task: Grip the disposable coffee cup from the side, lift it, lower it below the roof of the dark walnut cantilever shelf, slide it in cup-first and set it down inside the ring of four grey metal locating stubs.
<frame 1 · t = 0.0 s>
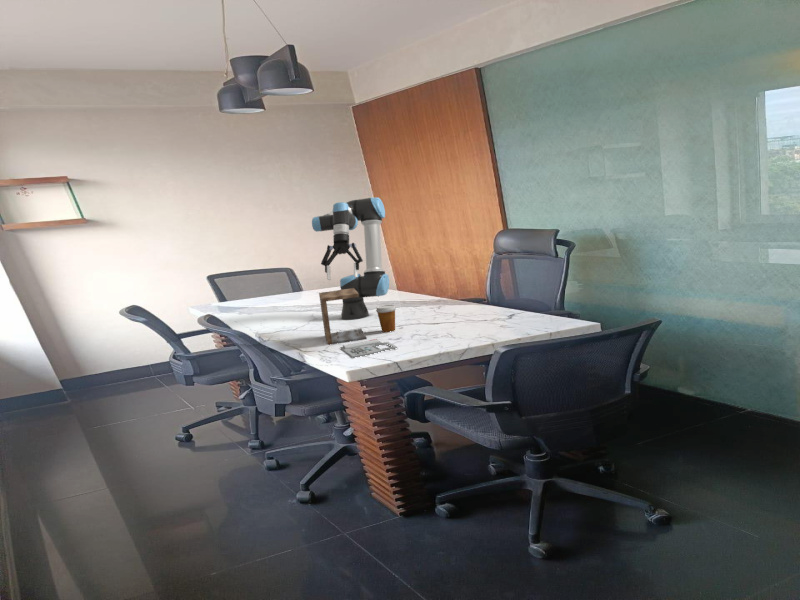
hand: (342, 278, 321), 28 cm above the table, tool tilted 20°, fingers open, 13 cm apart
walnut overhang shelf: (347, 337, 321), on the table
disposable coffee cup: (388, 331, 324), on the table
office telephone: (368, 350, 291), on the table
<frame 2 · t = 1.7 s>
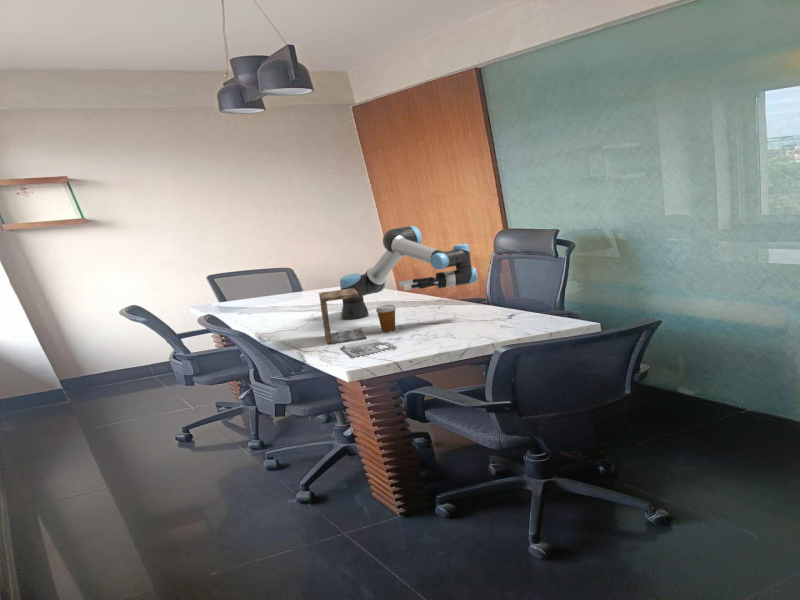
hand: (401, 285, 322), 21 cm above the table, tool horizontal, fingers open, 13 cm apart
nothing on the table moved.
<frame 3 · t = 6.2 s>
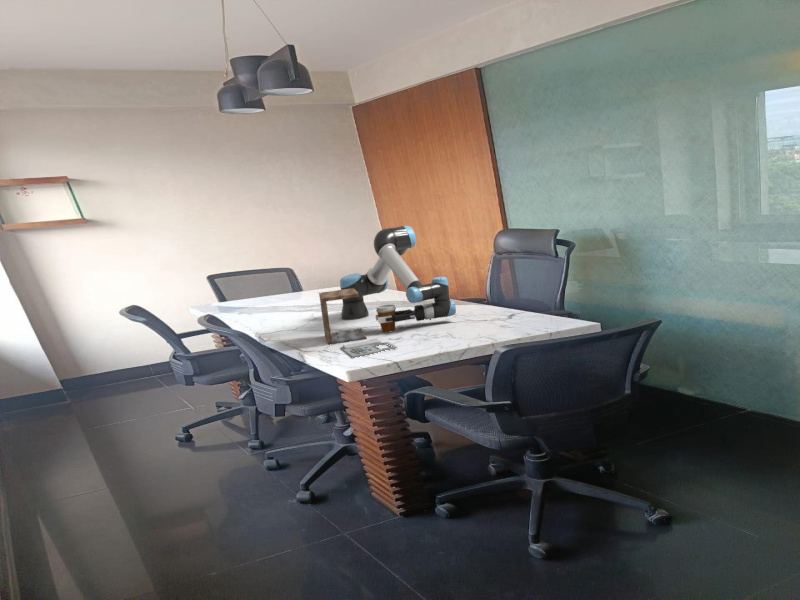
hand: (377, 319, 323), 7 cm above the table, tool horizontal, fingers closed on disposable coffee cup, 8 cm apart
disposable coffee cup: (388, 331, 324), on the table, touching gripper
everything else where it was.
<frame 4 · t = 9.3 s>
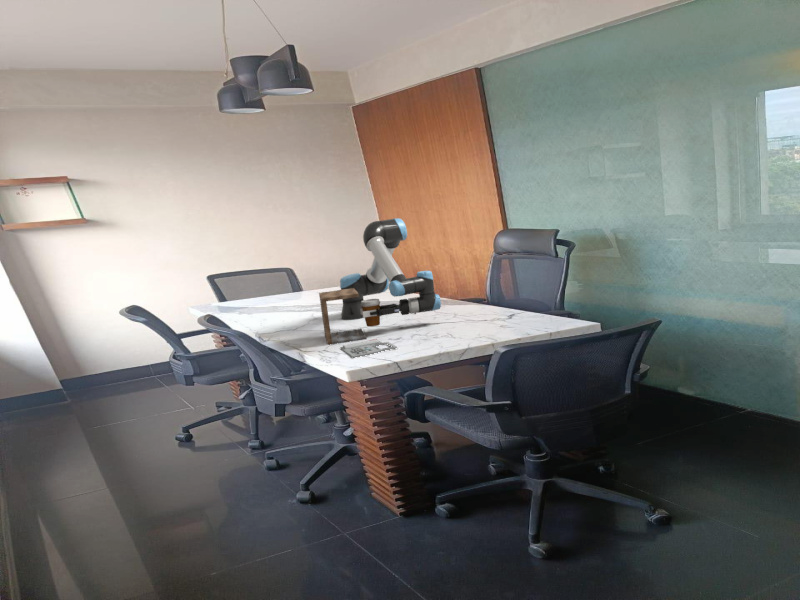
hand: (361, 313, 321), 10 cm above the table, tool horizontal, fingers closed on disposable coffee cup, 8 cm apart
disposable coffee cup: (373, 325, 323), point 4 cm above the table, touching gripper
everything else where it was.
when the fingers open (8 cm above the table, at t = 12.7 s): disposable coffee cup moves 2 cm, point 1 cm above the table.
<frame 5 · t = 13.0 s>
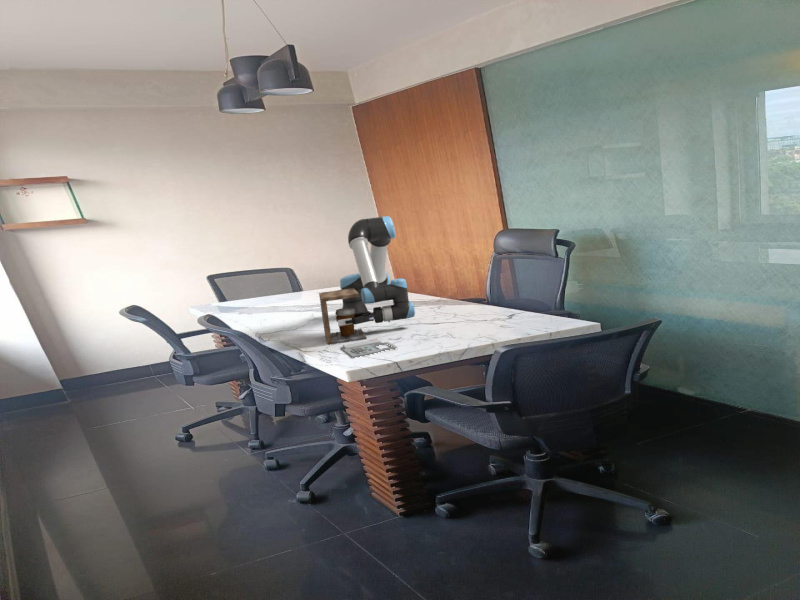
hand: (337, 321, 319), 8 cm above the table, tool horizontal, fingers open, 11 cm apart
disposable coffee cup: (347, 334, 323), point 1 cm above the table
everything else where it was.
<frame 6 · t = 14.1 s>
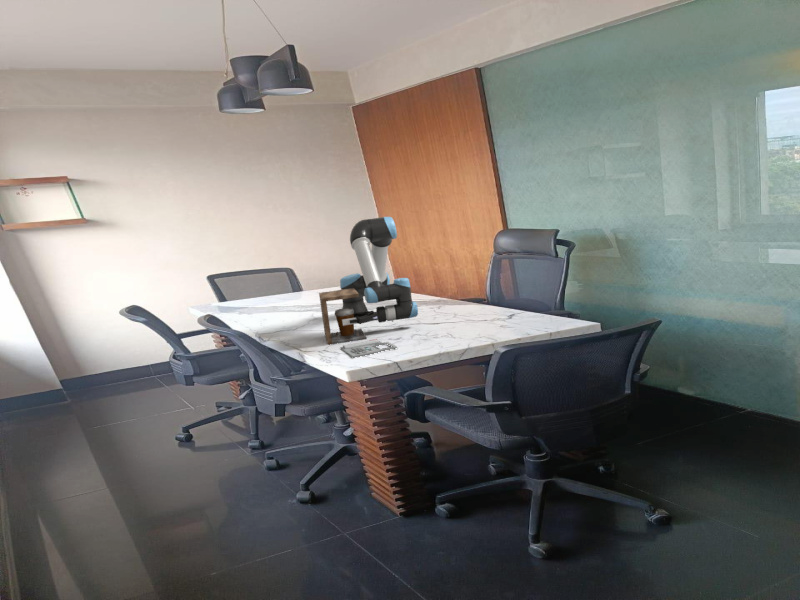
hand: (341, 320, 320), 9 cm above the table, tool horizontal, fingers open, 13 cm apart
disposable coffee cup: (347, 334, 323), point 1 cm above the table, touching walnut overhang shelf
everything else where it was.
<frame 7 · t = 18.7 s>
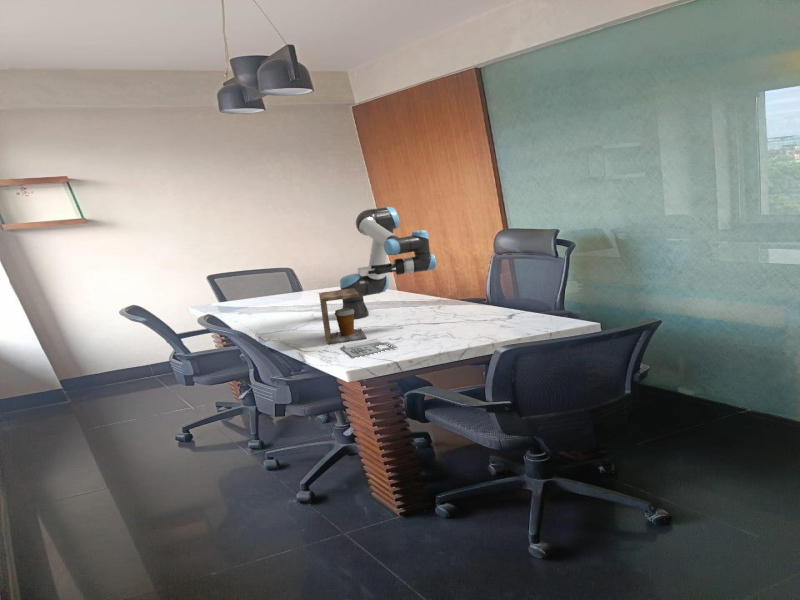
hand: (359, 272, 318), 30 cm above the table, tool horizontal, fingers open, 13 cm apart
nothing on the table moved.
at the end: disposable coffee cup 1.7 cm from the walnut overhang shelf (horizontally); disposable coffee cup tilted 0°; the gripper is holding nothing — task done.
